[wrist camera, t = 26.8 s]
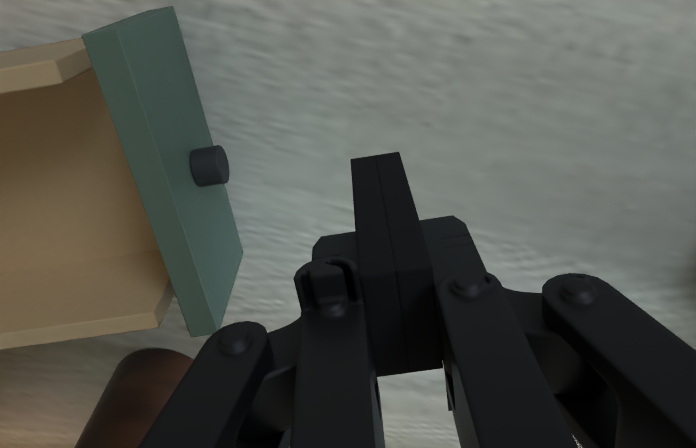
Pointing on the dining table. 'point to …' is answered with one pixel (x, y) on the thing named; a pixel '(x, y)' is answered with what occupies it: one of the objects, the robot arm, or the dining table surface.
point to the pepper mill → (134, 398)
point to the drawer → (110, 188)
